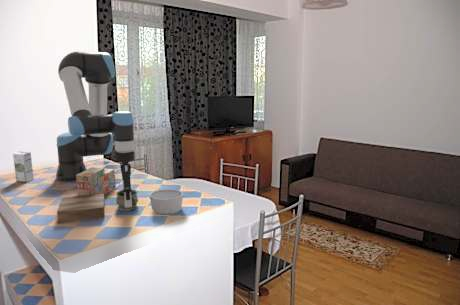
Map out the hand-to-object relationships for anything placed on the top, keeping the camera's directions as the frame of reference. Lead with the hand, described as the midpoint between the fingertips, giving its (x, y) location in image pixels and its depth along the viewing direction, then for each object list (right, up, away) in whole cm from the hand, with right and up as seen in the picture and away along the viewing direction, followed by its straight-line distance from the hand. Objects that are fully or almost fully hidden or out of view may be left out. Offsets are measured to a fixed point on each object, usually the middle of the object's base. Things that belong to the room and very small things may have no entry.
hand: (127, 201), depth 149 cm
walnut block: (-16, -4, -6) cm, 17 cm away
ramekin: (+17, -3, -2) cm, 17 cm away
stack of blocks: (-17, +1, +15) cm, 23 cm away
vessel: (0, -3, +1) cm, 3 cm away
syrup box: (-61, +6, +33) cm, 70 cm away
